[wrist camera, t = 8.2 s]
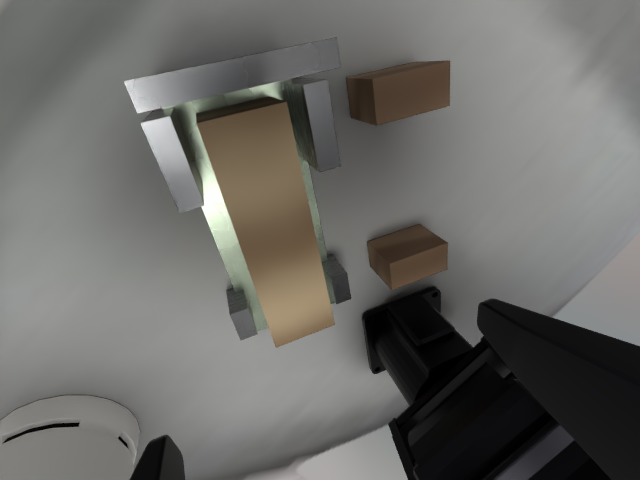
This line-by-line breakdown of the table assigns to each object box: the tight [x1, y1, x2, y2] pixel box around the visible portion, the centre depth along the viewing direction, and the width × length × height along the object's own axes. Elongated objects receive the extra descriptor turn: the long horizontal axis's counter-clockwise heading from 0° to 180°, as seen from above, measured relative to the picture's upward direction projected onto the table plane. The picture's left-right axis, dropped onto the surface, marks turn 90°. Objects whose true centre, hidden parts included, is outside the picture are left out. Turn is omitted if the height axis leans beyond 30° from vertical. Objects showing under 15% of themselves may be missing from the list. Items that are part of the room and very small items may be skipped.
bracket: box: [124, 37, 351, 340], centre depth 16 cm, size 15×7×7 cm, turn 10°
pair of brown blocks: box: [346, 61, 450, 290], centre depth 19 cm, size 12×4×3 cm, turn 10°
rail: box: [196, 96, 335, 347], centre depth 17 cm, size 12×4×4 cm, turn 10°
